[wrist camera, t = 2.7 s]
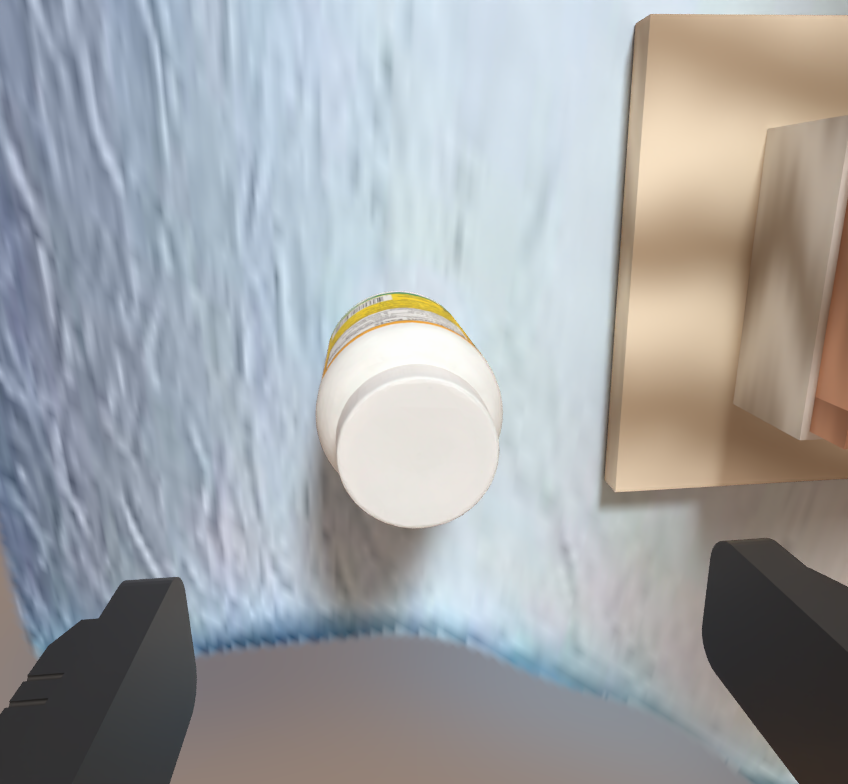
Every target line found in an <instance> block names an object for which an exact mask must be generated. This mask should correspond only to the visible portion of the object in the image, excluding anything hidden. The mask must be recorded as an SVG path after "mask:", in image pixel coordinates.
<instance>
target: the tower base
mask: <svg viewBox="0 0 848 784" xmlns="http://www.w3.org/2000/svg"><path fill="white" fill-rule="evenodd" d="M831 479H848V15H712V14H650V15H648V16H647V17H645V18H644V19H642V20H641V21H639V22H638V23H636V25H635V39H634V54H633V69H632V83H631V98H630V112H629V127H628V142H627V156H626V171H625V186H624V200H623V215H622V230H621V244H620V259H619V274H618V288H617V303H616V317H615V332H614V347H613V361H612V376H611V391H610V405H609V420H608V435H607V449H606V464H605V478H604V480H605V481H606V482H607V483H608V484H609V486H610V487H611V488H612V489H613V490H614V491H615V492H627V491H644V490H661V489H678V488H695V487H712V486H729V485H746V484H763V483H780V482H797V481H814V480H831Z"/></svg>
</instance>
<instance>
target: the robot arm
mask: <svg viewBox="0 0 848 784" xmlns="http://www.w3.org/2000/svg"><path fill="white" fill-rule="evenodd" d="M702 638H703V645H704V649H705V653H706V656H707V658H708V661H709V663H710V665H711V667H712V669H713V670H714V672H715V673H716V675H717V676H718V677H719V679H720V680H721V681H722V683H723V684H724V685H725V687H726V688H727V689H728V691H729V692H730V693H731V694H732V696H733V697H734V698H735V700H736V701H737V702H738V704H739V705H740V706H741V708H742V709H743V710H744V712H745V713H746V714H747V716H748V717H749V718H750V720H751V721H752V722H753V724H754V725H755V726H756V728H757V729H758V730H759V732H760V733H761V734H762V735H763V737H764V738H765V739H766V741H767V742H768V743H769V745H770V746H771V747H772V749H773V750H774V751H775V753H776V754H777V755H778V757H779V758H780V759H781V761H782V762H783V763H784V765H785V766H786V767H787V769H788V770H789V771H790V773H791V774H792V775H793V776H794V778H795V779H796V780H797V782H798V783H799V784H848V587H847V586H845V585H843V584H841V583H839V582H837V581H835V580H833V579H831V578H829V577H827V576H825V575H823V574H821V573H819V572H817V571H815V570H813V569H811V568H808V567H806V566H805V565H804V564H803V563H802V562H800V561H799V560H798V559H797V558H795V557H794V556H793V555H792V554H790V553H789V552H788V551H787V550H786V549H784V548H783V547H782V546H781V545H779V544H778V543H777V542H775V541H774V540H772V539H769V538H760V539H745V540H731V541H720V542H718V543H717V544H716V545H715V546H714V548H713V550H712V553H711V558H710V566H709V574H708V582H707V590H706V599H705V607H704V615H703V624H702ZM196 678H197V675H196V663H195V656H194V649H193V642H192V635H191V628H190V621H189V614H188V607H187V600H186V593H185V588H184V584H183V582H182V580H181V579H180V578H179V577H169V578H154V579H139V580H126V581H123V582H122V583H121V584H120V586H119V587H118V589H117V590H116V592H115V593H114V595H113V596H112V598H111V600H110V601H109V603H108V604H107V606H106V608H105V609H104V611H103V612H102V614H101V616H100V617H99V619H86V620H81V621H79V622H78V623H77V624H76V625H74V626H73V627H72V628H71V629H69V630H68V631H67V632H65V633H64V634H63V635H62V636H60V637H59V638H58V639H56V640H55V641H54V642H53V643H51V644H50V645H49V646H48V647H47V649H46V650H45V651H44V653H43V654H42V656H41V657H40V659H39V660H38V661H37V663H36V664H35V666H34V667H33V669H32V670H31V671H30V673H29V674H28V679H27V681H26V682H23V683H22V684H21V686H20V687H19V688H18V690H17V691H16V693H15V694H14V696H13V697H12V699H11V700H10V704H9V708H5V709H4V710H3V711H2V713H1V714H0V784H169V783H170V781H171V777H172V774H173V771H174V768H175V765H176V762H177V759H178V756H179V753H180V750H181V747H182V744H183V741H184V738H185V735H186V732H187V729H188V725H189V722H190V720H191V716H192V713H193V708H194V703H195V696H196V683H197V682H196V681H197V679H196Z"/></svg>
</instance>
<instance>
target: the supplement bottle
mask: <svg viewBox="0 0 848 784" xmlns="http://www.w3.org/2000/svg"><path fill="white" fill-rule="evenodd" d="M502 416H503V409H502V399H501V394H500V389H499V386H498V383H497V381H496V378H495V376H494V373H493V371H492V369H491V368H490V366H489V365H488V363H487V361H486V360H485V358H484V357H483V356H482V354H481V353H480V352H479V350H478V349H477V348H476V347H475V345H474V344H473V343H472V341H471V340H470V339H469V337H468V336H467V335H466V333H465V332H464V331H463V329H462V328H461V327H460V326H459V324H458V323H457V322H456V320H455V319H454V318H453V317H452V315H451V314H450V313H449V312H448V311H447V310H446V309H445V308H444V307H443V306H441V305H440V304H439V303H437V302H436V301H434V300H432V299H430V298H428V297H426V296H423V295H420V294H417V293H413V292H406V291H390V292H383V293H379V294H376V295H373V296H370V297H368V298H366V299H364V300H362V301H361V302H359V303H357V304H356V305H355V306H353V307H352V308H351V309H350V310H349V311H348V312H347V313H346V314H345V315H344V316H343V317H342V318H341V320H340V321H339V322H338V324H337V326H336V327H335V329H334V331H333V333H332V335H331V338H330V341H329V345H328V350H327V355H326V360H325V365H324V369H323V374H322V379H321V383H320V387H319V392H318V397H317V403H316V426H317V432H318V436H319V440H320V443H321V445H322V448H323V450H324V453H325V455H326V457H327V458H328V460H329V462H330V463H331V465H332V466H333V467H334V469H335V470H336V471H337V472H338V473H339V475H340V478H341V481H342V483H343V485H344V488H345V489H346V491H347V493H348V494H349V496H350V497H351V498H352V500H353V501H354V502H355V503H356V504H357V505H358V506H359V507H360V508H361V509H362V510H363V511H365V512H366V513H367V514H369V515H370V516H372V517H374V518H376V519H377V520H380V521H382V522H384V523H386V524H390V525H393V526H397V527H403V528H427V527H433V526H438V525H441V524H444V523H448V522H450V521H452V520H454V519H456V518H458V517H460V516H461V515H463V514H464V513H466V512H467V511H468V510H470V509H471V508H472V507H473V506H474V505H476V504H477V502H478V501H479V500H480V499H481V498H482V497H483V495H484V494H485V492H486V491H487V490H488V488H489V486H490V485H491V483H492V480H493V478H494V475H495V472H496V469H497V465H498V458H499V441H498V439H499V435H500V432H501V426H502Z"/></svg>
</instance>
